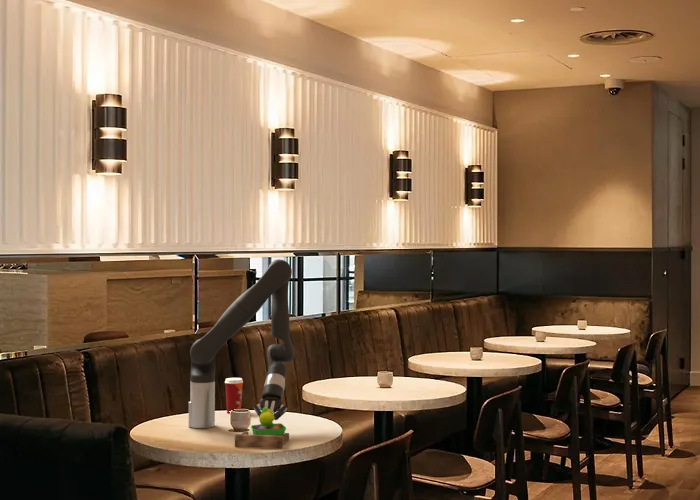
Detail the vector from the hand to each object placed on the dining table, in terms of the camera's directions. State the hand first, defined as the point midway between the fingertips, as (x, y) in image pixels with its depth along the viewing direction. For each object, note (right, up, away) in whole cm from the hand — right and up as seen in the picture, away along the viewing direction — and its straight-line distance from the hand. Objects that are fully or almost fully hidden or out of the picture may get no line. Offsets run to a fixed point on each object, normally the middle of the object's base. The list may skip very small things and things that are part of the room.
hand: (266, 428), depth 348 cm
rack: (-1, -4, -8) cm, 9 cm away
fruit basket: (+1, -4, -3) cm, 5 cm away
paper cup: (-17, -3, +48) cm, 51 cm away
